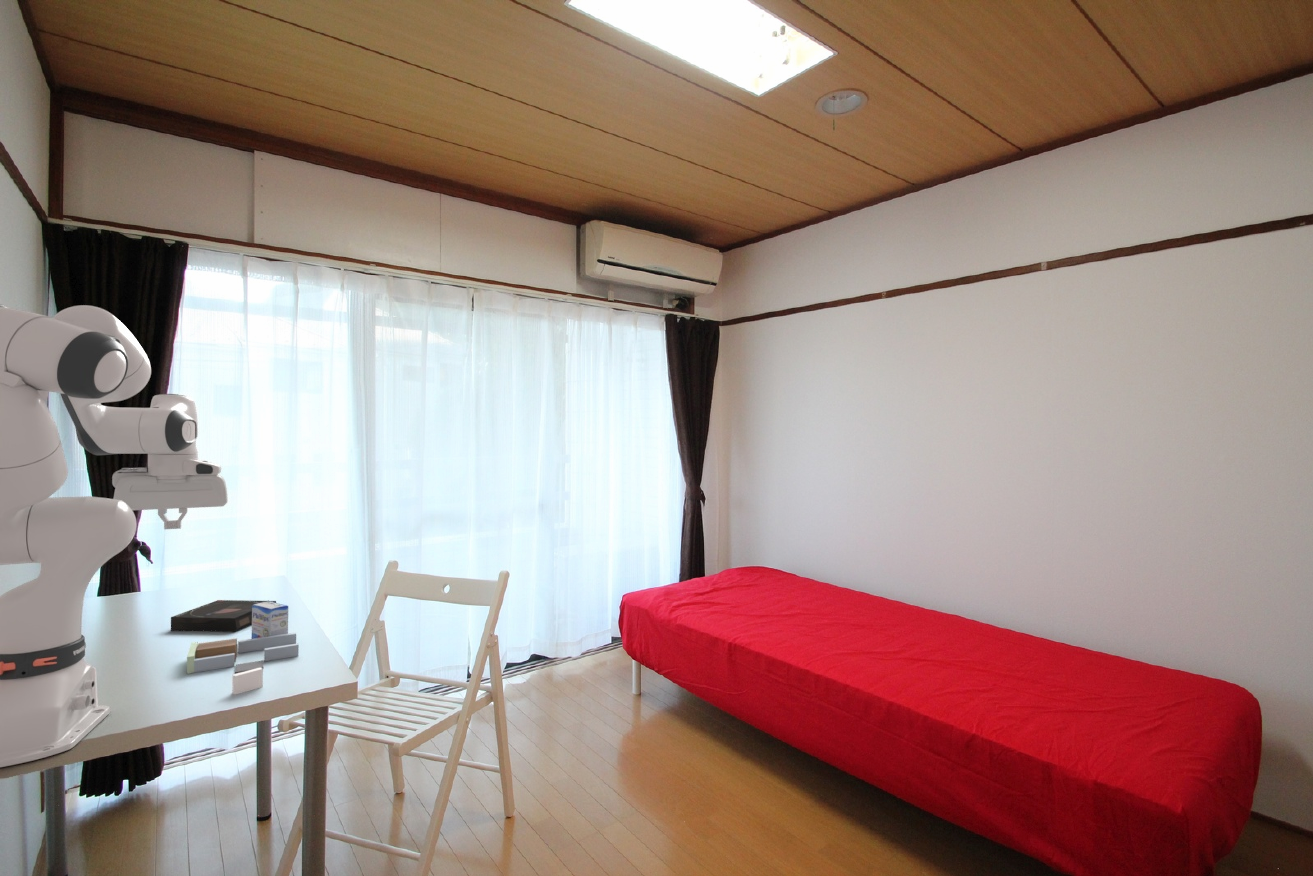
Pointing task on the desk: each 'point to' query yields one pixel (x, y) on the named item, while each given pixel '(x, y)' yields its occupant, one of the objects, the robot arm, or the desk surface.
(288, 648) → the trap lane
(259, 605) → the medicine box
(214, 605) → the portable cd player
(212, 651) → the walnut block
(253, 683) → the eraser
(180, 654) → the desk surface
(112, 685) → the desk surface
